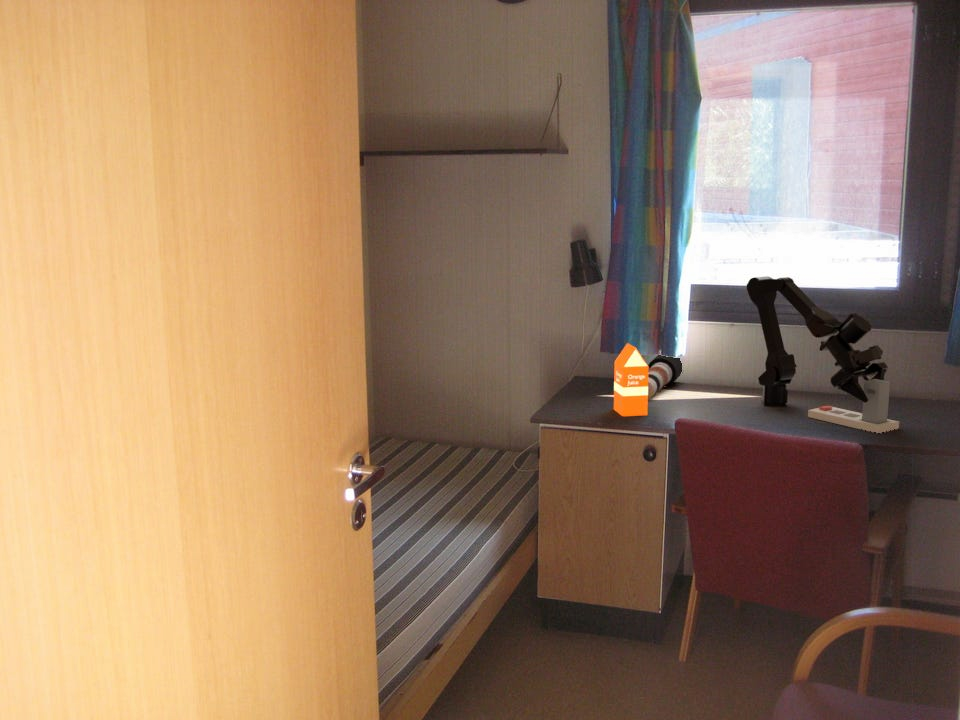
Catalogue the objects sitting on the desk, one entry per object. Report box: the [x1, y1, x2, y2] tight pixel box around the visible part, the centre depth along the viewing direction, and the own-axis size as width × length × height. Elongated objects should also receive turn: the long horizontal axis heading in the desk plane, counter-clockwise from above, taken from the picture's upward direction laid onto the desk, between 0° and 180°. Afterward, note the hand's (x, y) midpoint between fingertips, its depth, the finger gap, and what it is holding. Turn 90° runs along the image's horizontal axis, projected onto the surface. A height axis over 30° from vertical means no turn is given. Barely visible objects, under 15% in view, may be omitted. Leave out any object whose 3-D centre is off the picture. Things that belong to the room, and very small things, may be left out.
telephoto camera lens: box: [647, 354, 683, 399], centre depth 299 cm, size 10×34×10 cm, turn 153°
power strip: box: [807, 405, 900, 434], centre depth 257 cm, size 22×9×3 cm, turn 33°
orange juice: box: [613, 342, 649, 417], centre depth 270 cm, size 8×9×20 cm
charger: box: [861, 379, 891, 424], centre depth 251 cm, size 5×5×13 cm
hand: (877, 399), depth 250 cm, fingers open, 9 cm apart
